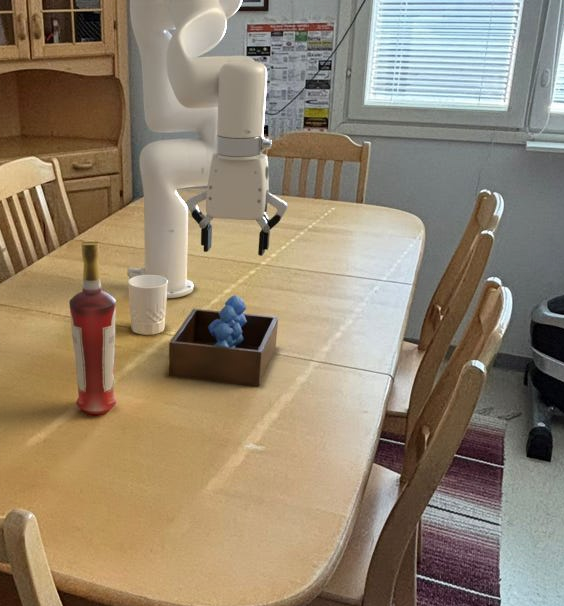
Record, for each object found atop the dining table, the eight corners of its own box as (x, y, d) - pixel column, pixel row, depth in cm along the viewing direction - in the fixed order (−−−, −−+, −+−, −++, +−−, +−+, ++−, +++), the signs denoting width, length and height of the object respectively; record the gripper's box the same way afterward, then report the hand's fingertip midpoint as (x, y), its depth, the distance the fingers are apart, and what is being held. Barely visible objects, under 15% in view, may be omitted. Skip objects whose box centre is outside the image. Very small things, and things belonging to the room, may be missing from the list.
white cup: (173, 325, 176) (173, 277, 171) (158, 338, 171) (158, 289, 165) (138, 319, 179) (137, 272, 174) (122, 333, 173) (121, 284, 168)
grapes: (218, 345, 166) (220, 285, 159) (251, 351, 163) (255, 289, 157) (195, 368, 157) (197, 305, 151) (230, 374, 155) (233, 310, 148)
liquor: (76, 399, 148) (68, 236, 133) (119, 399, 148) (115, 235, 133) (73, 418, 142) (63, 250, 127) (117, 418, 142) (113, 249, 127)
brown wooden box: (168, 375, 156) (169, 342, 152) (192, 340, 170) (193, 308, 166) (258, 386, 152) (261, 352, 148) (275, 349, 165) (278, 316, 162)
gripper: (295, 144, 141) (287, 249, 150) (193, 141, 145) (191, 242, 155) (288, 153, 135) (280, 261, 144) (182, 149, 139) (181, 254, 149)
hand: (234, 251), depth 149 cm, fingers open, 9 cm apart
